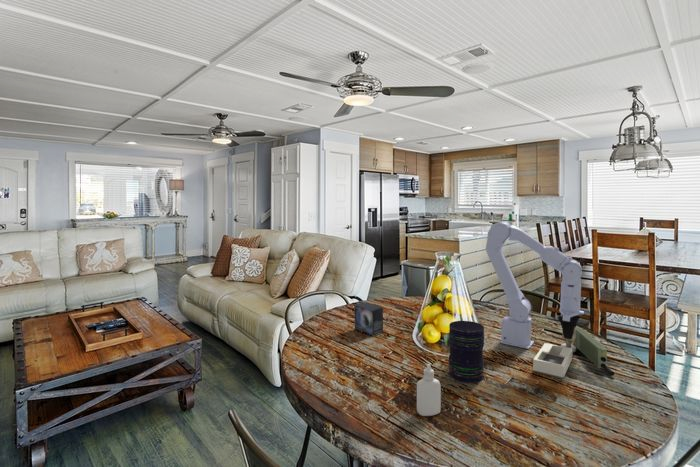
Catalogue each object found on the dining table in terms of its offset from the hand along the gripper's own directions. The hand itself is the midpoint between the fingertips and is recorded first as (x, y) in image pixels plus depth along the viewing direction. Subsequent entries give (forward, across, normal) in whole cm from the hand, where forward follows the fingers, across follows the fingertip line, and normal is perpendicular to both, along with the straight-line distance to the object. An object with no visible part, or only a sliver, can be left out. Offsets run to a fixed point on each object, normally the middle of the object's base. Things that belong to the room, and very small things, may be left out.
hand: (568, 336), depth 126 cm
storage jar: (+5, -37, +21) cm, 43 cm away
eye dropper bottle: (+5, -61, +21) cm, 65 cm away
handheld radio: (+6, -2, -7) cm, 9 cm away
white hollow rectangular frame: (+5, -14, +2) cm, 15 cm away
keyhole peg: (+4, 0, 0) cm, 4 cm away
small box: (+6, -23, +66) cm, 70 cm away
